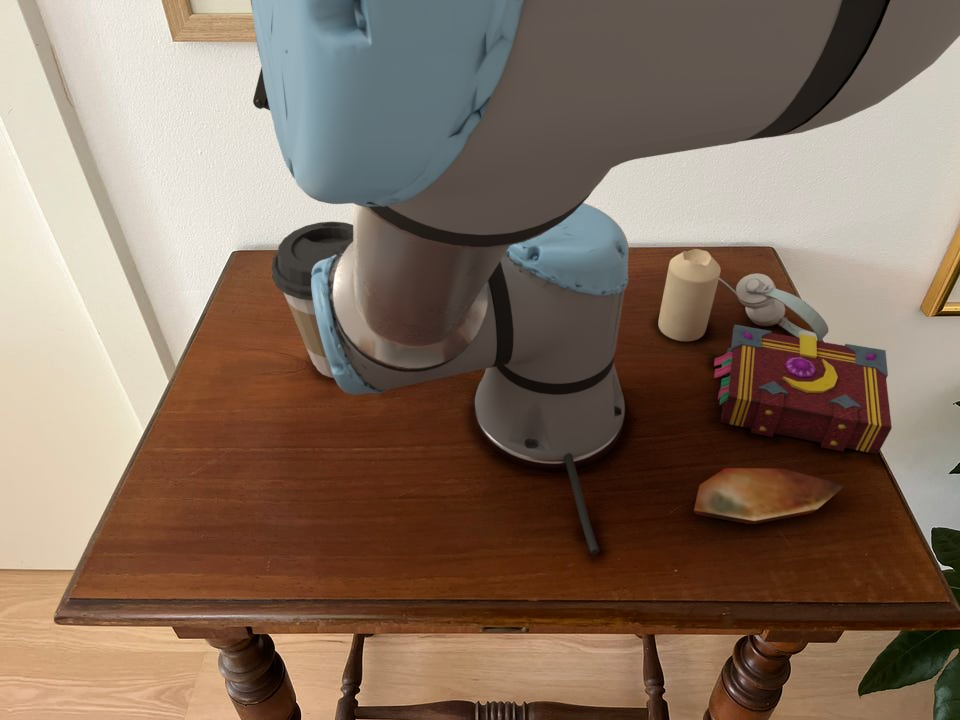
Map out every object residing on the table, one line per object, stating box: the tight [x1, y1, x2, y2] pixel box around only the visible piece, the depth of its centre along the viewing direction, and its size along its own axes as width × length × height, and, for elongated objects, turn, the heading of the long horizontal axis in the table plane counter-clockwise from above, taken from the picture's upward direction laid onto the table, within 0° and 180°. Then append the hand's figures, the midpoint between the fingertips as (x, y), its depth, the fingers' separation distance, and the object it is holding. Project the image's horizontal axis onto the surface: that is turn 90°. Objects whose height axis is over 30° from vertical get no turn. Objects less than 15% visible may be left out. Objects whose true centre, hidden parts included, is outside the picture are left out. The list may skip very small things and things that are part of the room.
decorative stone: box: [693, 467, 846, 525], centre depth 65 cm, size 14×6×3 cm, turn 84°
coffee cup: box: [271, 221, 353, 379], centre depth 77 cm, size 11×11×15 cm
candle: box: [658, 248, 722, 342], centre depth 82 cm, size 6×6×10 cm
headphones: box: [718, 273, 829, 342], centre depth 85 cm, size 8×4×20 cm
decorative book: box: [713, 324, 893, 455], centre depth 74 cm, size 11×16×5 cm
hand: (363, 178), depth 77 cm, fingers open, 13 cm apart
